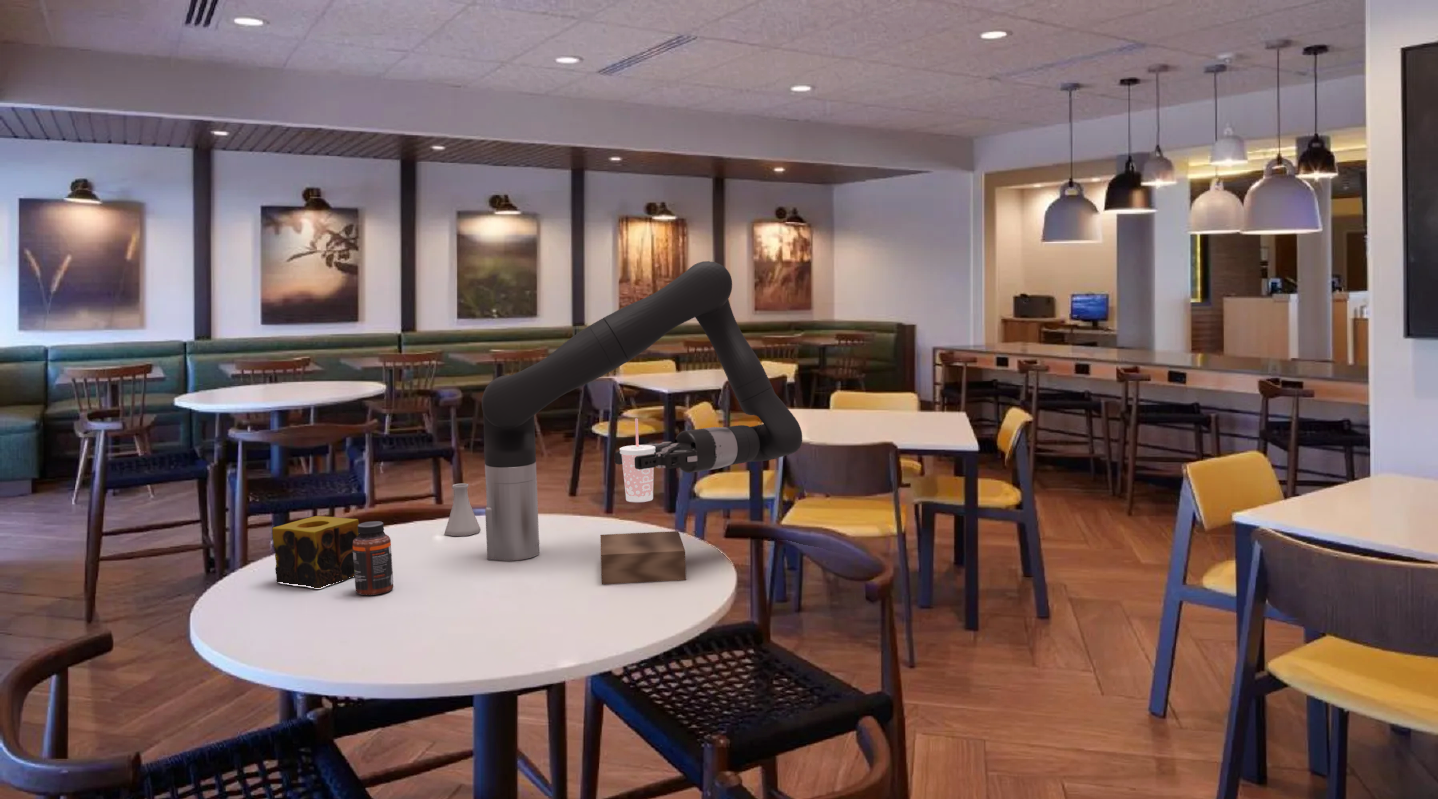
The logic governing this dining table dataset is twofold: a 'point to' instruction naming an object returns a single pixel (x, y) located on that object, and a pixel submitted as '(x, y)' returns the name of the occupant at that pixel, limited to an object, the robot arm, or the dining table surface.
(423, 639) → the dining table surface
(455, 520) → the flask
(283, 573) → the yellow tissue box cover
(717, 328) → the robot arm
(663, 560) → the walnut riser block
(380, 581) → the supplement bottle
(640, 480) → the beverage cup
